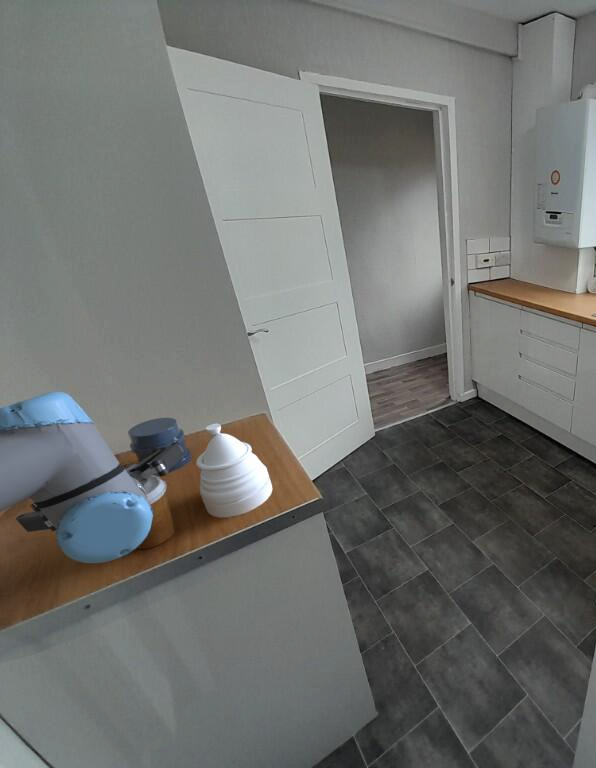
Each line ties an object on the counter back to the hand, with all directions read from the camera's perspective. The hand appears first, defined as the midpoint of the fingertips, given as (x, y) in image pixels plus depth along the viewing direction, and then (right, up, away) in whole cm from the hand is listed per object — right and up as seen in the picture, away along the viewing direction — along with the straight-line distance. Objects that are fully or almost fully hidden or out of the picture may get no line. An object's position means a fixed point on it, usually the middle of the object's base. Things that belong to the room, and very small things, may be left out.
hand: (110, 474), depth 70 cm
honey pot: (+8, -10, +22) cm, 26 cm away
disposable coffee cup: (-2, -15, +11) cm, 19 cm away
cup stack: (-18, -5, +34) cm, 39 cm away
